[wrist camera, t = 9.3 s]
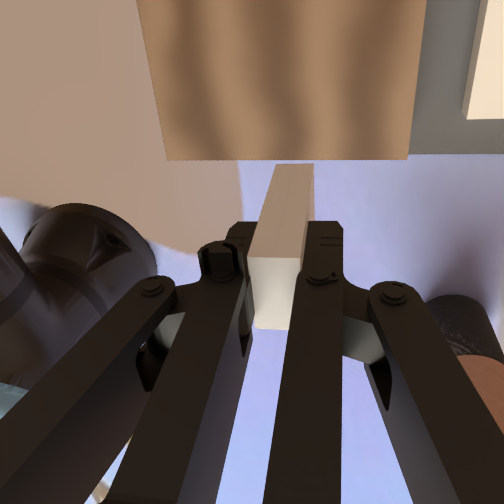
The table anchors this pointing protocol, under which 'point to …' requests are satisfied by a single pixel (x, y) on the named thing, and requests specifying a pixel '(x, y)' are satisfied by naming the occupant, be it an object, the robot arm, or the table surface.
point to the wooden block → (284, 77)
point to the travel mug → (473, 347)
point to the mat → (449, 85)
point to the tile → (486, 65)
